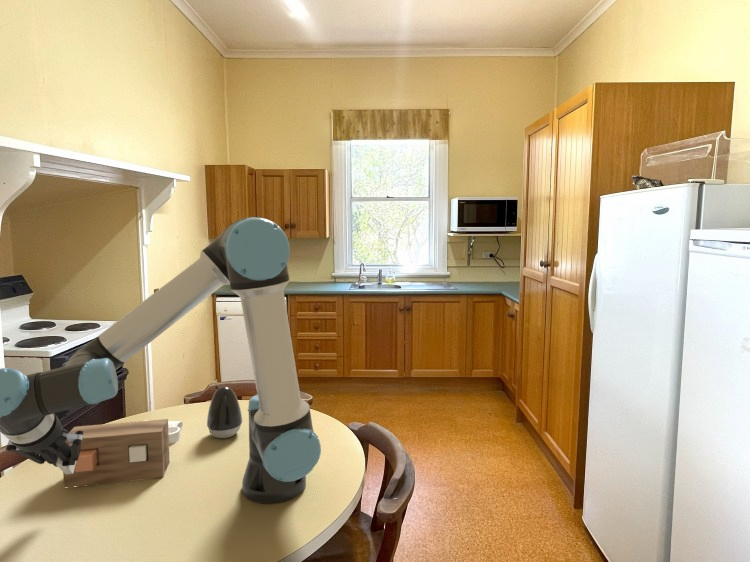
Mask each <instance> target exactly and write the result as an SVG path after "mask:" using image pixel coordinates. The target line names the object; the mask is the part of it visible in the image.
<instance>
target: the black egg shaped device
mask: <svg viewBox="0 0 750 562" xmlns="http://www.w3.org/2000/svg"><path fill="white" fill-rule="evenodd" d="M214 388H215V392H214V393H213V395H212V398H211V401H210V403H209V408H208V413H207V418H206V420H207V421H206V427H207V428H208V431H209V433H210V435H212V436H213V437H214V438H217V439H228V438H230V437H233V436H235V435H236V434H237V433H238V432H239V430H240V429H241V426H242V423H243V417H242V416H243V415H242V411H241V406H240V403H239V399H238V397H237V395H236V393H235V392H234V390H233V389H232V388H231V387H229V386H227V385H226V386H225V385H224V386H219V385H217V384H216V385H215V386H214Z"/></svg>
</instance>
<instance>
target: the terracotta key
mask: <svg viewBox="0 0 750 562" xmlns="http://www.w3.org/2000/svg"><path fill="white" fill-rule="evenodd" d="M98 462H99V455H98V448H96V449H85V450H81V451H80V454H79V458H78V460H77V461H76V465H75V472H82V471H91V470H93V469H94V468H95V466H96V465H97V464H98Z"/></svg>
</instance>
